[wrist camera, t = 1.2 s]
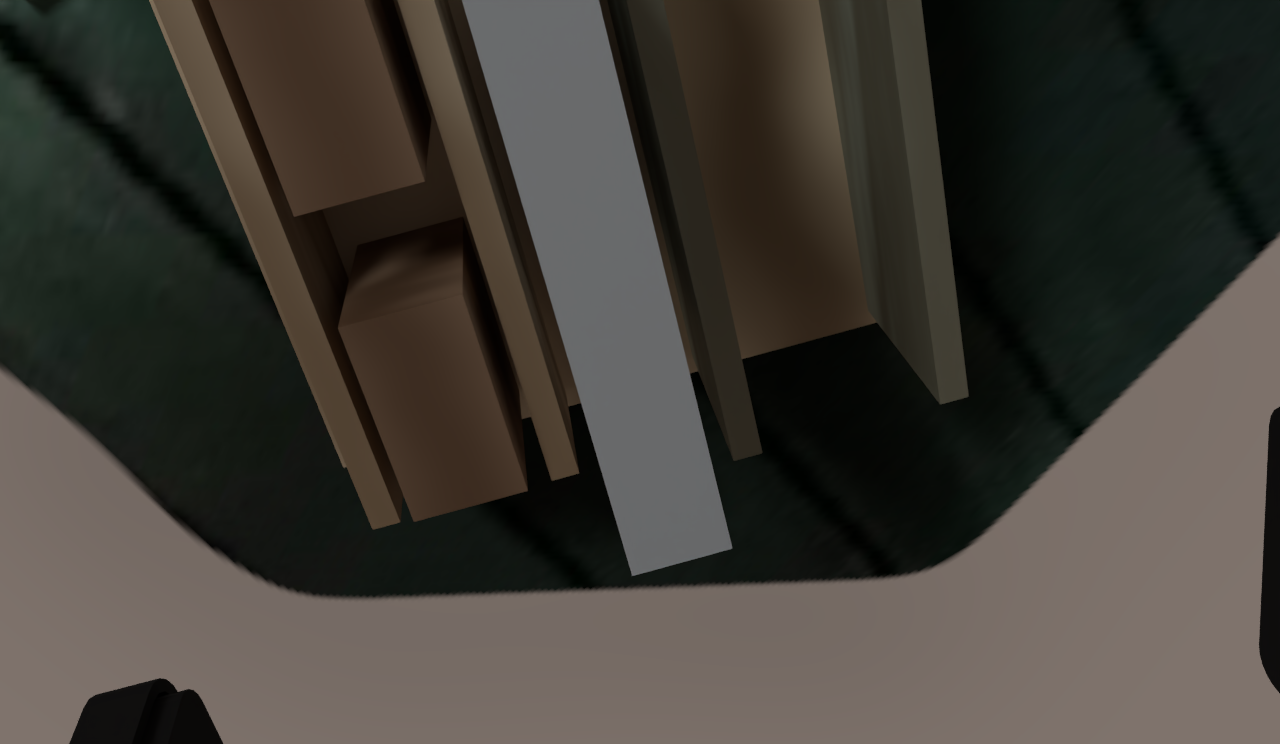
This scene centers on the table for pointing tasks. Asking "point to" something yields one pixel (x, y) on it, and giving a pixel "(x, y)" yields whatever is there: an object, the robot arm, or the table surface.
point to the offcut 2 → (435, 369)
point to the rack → (676, 192)
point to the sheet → (602, 269)
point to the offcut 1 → (330, 95)
